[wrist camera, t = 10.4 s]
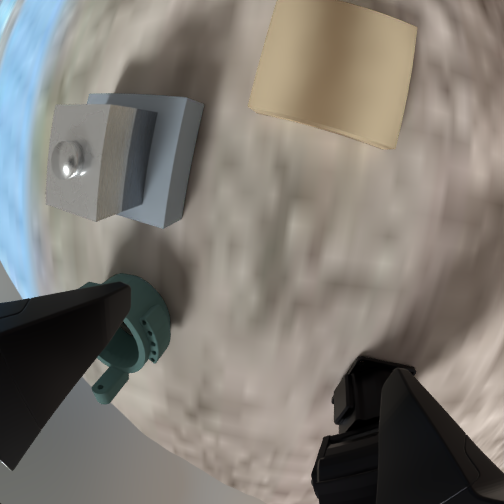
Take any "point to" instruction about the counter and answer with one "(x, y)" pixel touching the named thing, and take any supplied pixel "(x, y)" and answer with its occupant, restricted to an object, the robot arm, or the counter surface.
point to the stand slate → (163, 153)
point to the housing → (98, 158)
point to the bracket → (133, 348)
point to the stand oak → (336, 69)
